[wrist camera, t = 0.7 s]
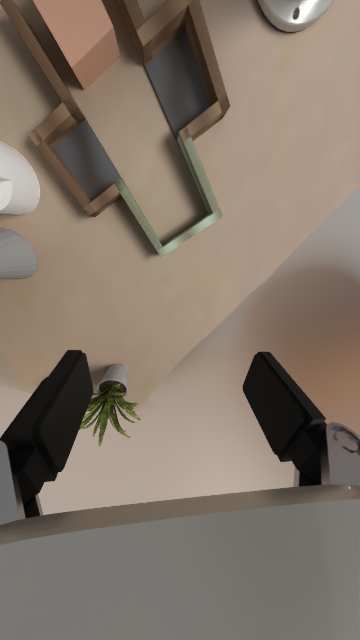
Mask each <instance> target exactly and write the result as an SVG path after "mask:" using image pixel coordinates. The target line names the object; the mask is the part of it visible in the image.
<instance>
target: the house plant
mask: <svg viewBox="0 0 360 640" xmlns="http://www.w3.org/2000/svg"><path fill="white" fill-rule="evenodd" d="M127 391H128V371H127V368H126V367H125V366H124V365H121V364H113V365H111V366H110V367H109V368H108V369H107V371H106V373H105V374H104V376H103V378H102V379H101V381H100V383H99V384H98V386H97V392H98V394H99V396H97V397H95V398H93V399H91V400H90V402H89V404H90V405H88V408H87V410H86V411H91V412H90V413H88V414H87V415H86V416H84V418H83V419H85V418H86V417H87V416H88V415H89V414H90V415H89V416H88V417H87V418H86V419H85V420H84V421H83V422H82V423H81V426H80V428H79V430H80V429H85V428H88V427H89V426H90V425H92V424H93V423H94V422H95V420H96V419H97V418H98V420H97V423H96V425H95V428H94V433H93V436H94V435H95V433H96V431H97V428H98V426H99V423H100V427H99V428H100V433H99V446H100V445H101V442H102V439H103V435H104V432H105V429H106V426H107V420H108V418H109V419H110V421H111V417H112V421H113V423H114V426H115V428H116V429H117V431H118V432H120V433H121V434H123V435H125V436H126V437H129V436H128V435H127V434H125V433H124V432H123V431H124V430H123V429H122V428H121V427H120V425H119V422H118V419H117V414H116V410H115V406H117V408H118V410H119V412H120V414H121V415H122V416H123V417H124V418H125V419H126V420H128V421H130V422H132V423H134V422H133V421H131V420H130V419H128V418H127V417H126V416H125V415H124V414H123V413H122V411H121V410H120V408H119V407H118V405H117V403H118V404H119V406H120V407H122V408H123V409H125V410H126V411H127V412H128V413H129V414H130V415H132V416H133V417H134V418H136V419H139V420H140V418H139V417H138V416H137V415H136V414H135V412H134V410H133V409H134V408H132V407H135V406H137V405H138V404H139V403H128V402H126V401H125V400H124V399H123V397H124V396H125V395H126V394H127ZM92 395H97V393H94V392H93V394H92ZM115 400H117V403H116V401H115ZM102 404H103V405H102ZM101 405H102V408H101V411H100V412H99V414H98V415H97V417H96V418H95V419H94V420H93V421H92V422H91V423H90V424H89V425H87V426H86V427H84V426H85V425H86V424H87V423H88V422H89V421H90V420H91V419H92V417H93V416H94V415H95V413H96V412H97V411H98V410H99V408H100V407H101ZM113 408H114V412H115V414H114V412H113ZM98 416H99V417H98ZM112 421H111V423H112ZM113 423H112V425H113ZM82 427H83V428H82Z"/></svg>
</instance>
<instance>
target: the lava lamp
mask: <svg viewBox="0 0 360 640" xmlns="http://www.w3.org/2000/svg"><path fill="white" fill-rule="evenodd" d="M37 266H38V261H37V256H36V253H35V251H34V249H33V247H32V246H31V245H30V244H29V242H28V241H27V240H26V239H24V238H23V237H22V236H21V235H19V234H18V233H16V232H14V231H12V230H10V229H5V228H1V227H0V278H8V279H21V278H27V277H29V276H32V275H33V274H34V272H35V271H36V270H37Z"/></svg>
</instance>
